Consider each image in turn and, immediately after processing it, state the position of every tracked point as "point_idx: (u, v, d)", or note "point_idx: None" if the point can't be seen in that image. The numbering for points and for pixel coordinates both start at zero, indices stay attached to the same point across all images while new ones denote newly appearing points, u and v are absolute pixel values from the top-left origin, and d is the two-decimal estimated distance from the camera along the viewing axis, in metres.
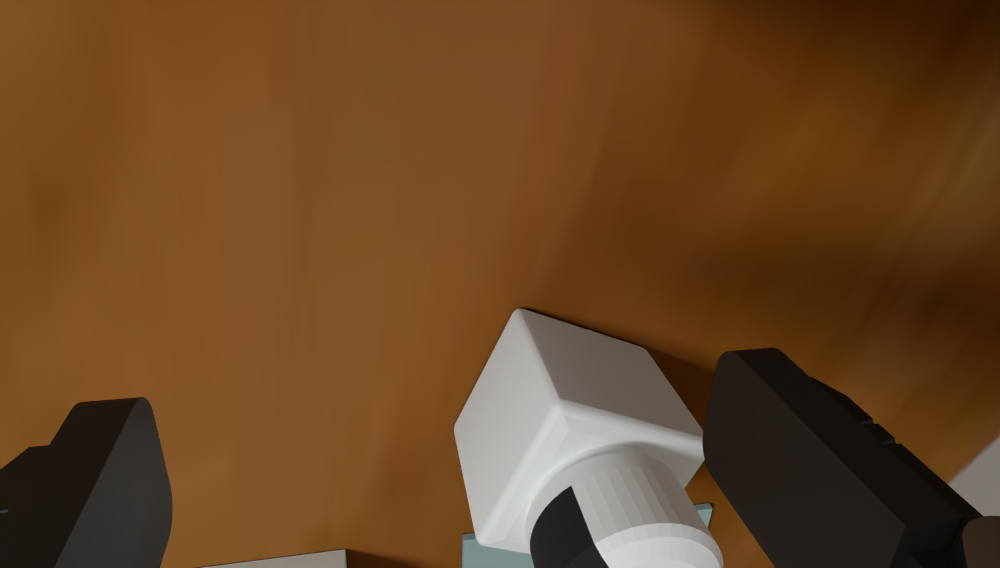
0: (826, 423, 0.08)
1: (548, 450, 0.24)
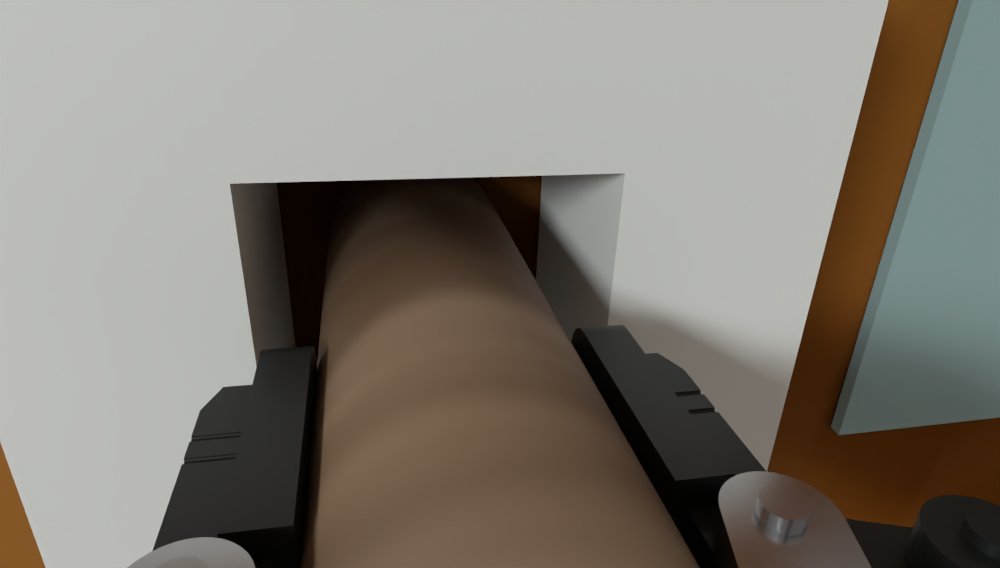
0: (641, 391, 0.09)
1: None
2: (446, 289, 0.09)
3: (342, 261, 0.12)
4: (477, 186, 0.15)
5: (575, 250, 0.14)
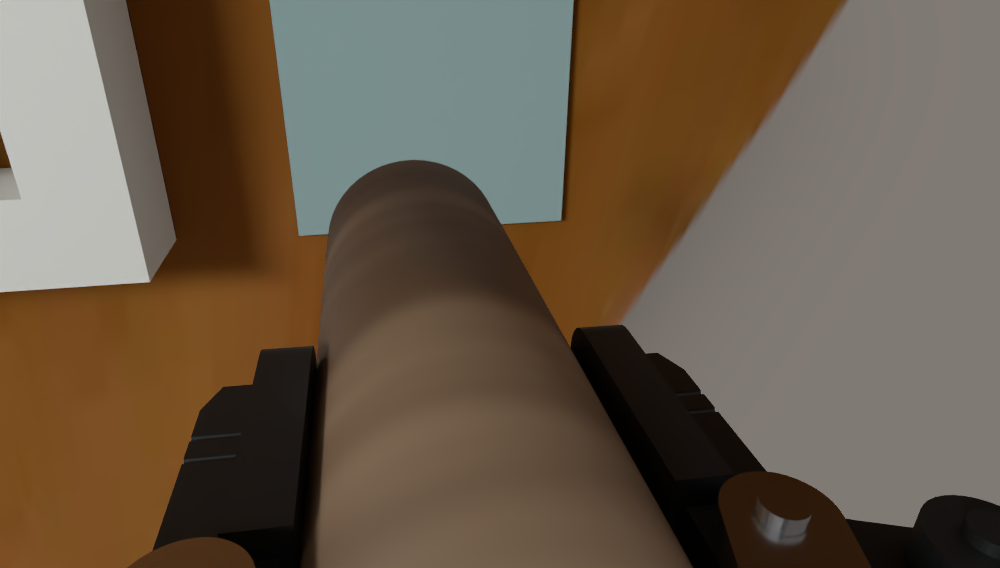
0: (641, 391, 0.09)
1: None
2: (444, 294, 0.09)
3: (341, 264, 0.12)
4: (476, 188, 0.15)
5: None
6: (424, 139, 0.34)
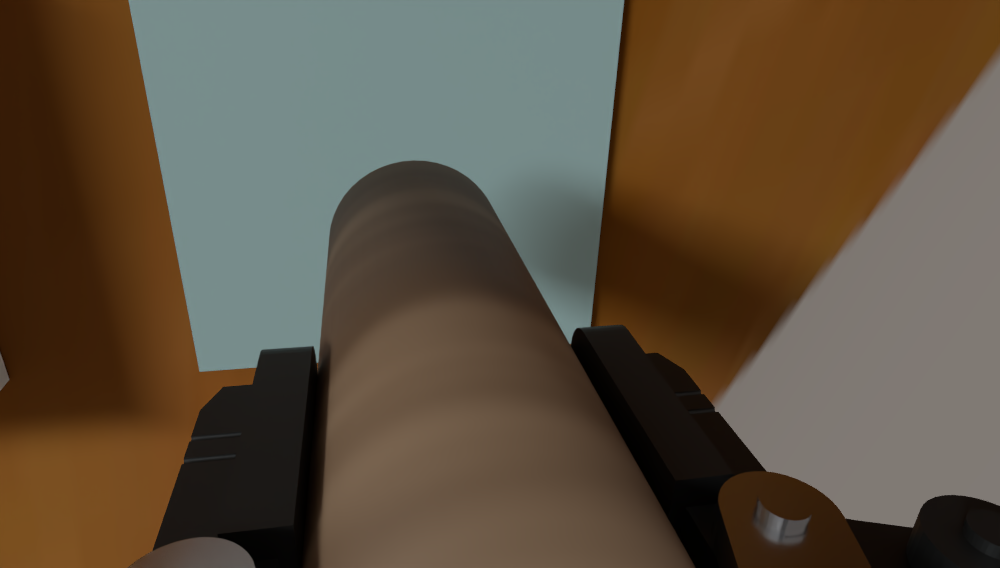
0: (641, 391, 0.09)
1: None
2: (446, 295, 0.09)
3: (342, 265, 0.12)
4: (477, 189, 0.15)
5: None
6: None
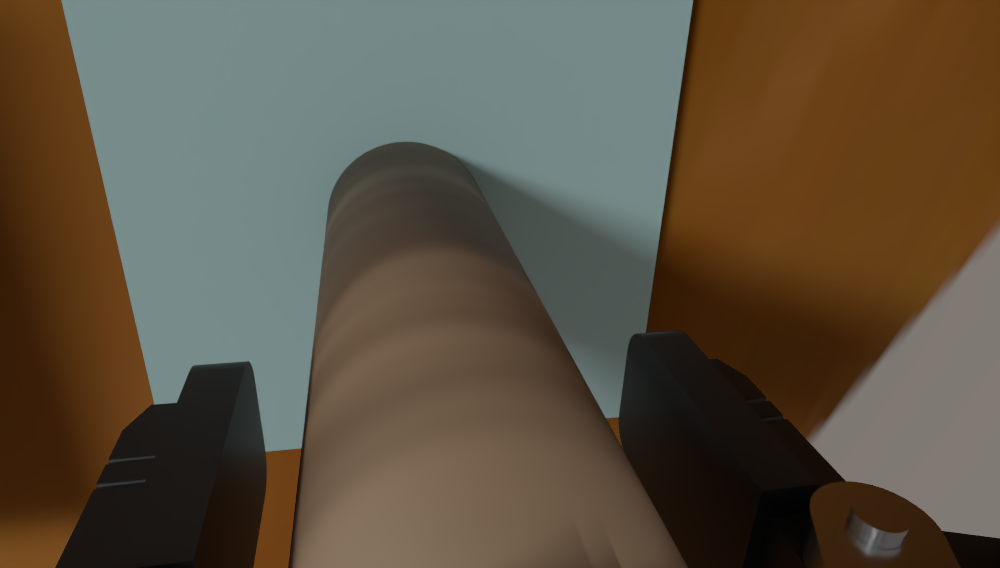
0: (711, 399, 0.08)
1: None
2: (427, 247, 0.10)
3: (338, 230, 0.13)
4: (463, 168, 0.16)
5: None
6: None
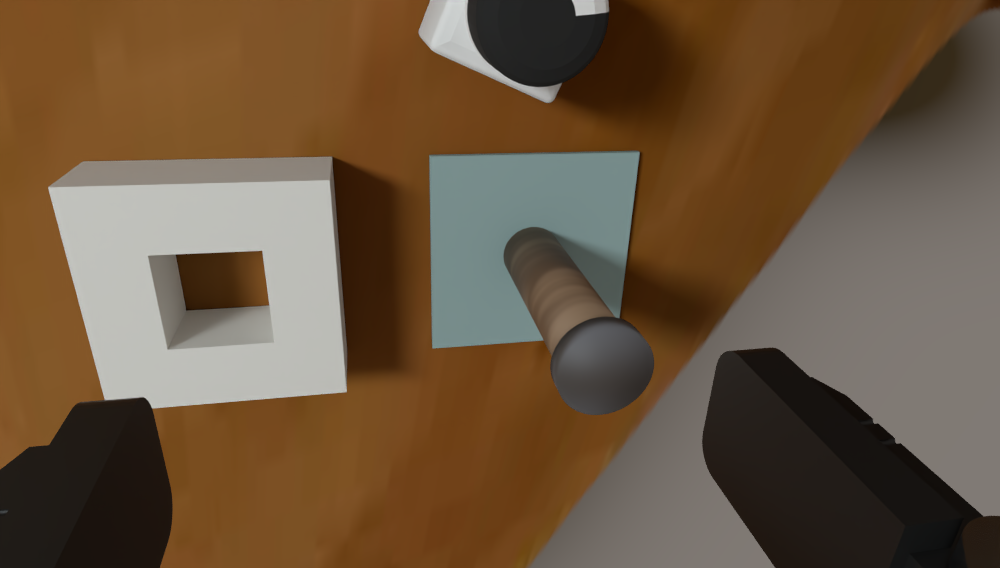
0: (826, 423, 0.08)
1: None
2: (559, 267, 0.39)
3: (523, 261, 0.42)
4: (554, 236, 0.46)
5: None
6: None
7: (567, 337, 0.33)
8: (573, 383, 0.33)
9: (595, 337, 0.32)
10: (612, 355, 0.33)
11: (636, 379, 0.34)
